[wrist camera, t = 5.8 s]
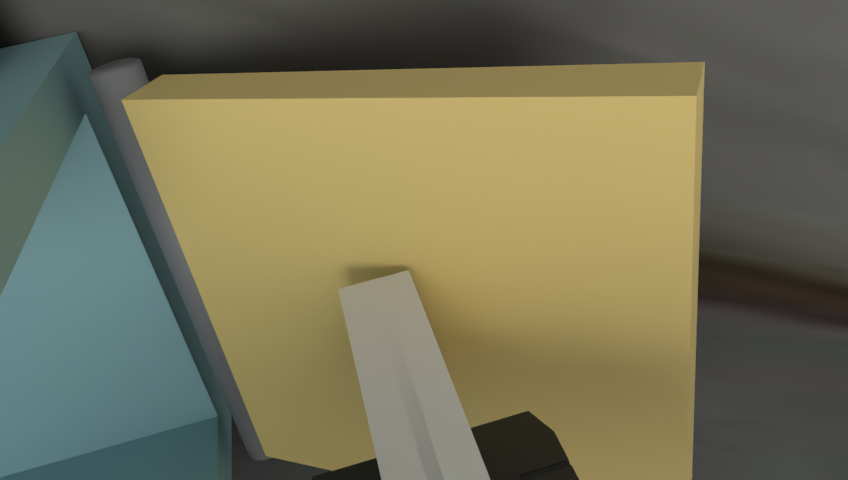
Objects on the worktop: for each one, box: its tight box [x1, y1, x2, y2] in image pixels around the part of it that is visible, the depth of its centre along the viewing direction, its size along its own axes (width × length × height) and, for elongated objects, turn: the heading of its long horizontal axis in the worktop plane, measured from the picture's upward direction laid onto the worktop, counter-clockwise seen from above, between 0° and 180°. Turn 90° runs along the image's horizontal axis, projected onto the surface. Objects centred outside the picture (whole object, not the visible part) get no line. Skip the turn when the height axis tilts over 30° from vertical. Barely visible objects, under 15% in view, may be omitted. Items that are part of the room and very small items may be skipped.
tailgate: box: [88, 58, 705, 480], centre depth 15 cm, size 11×10×1 cm
